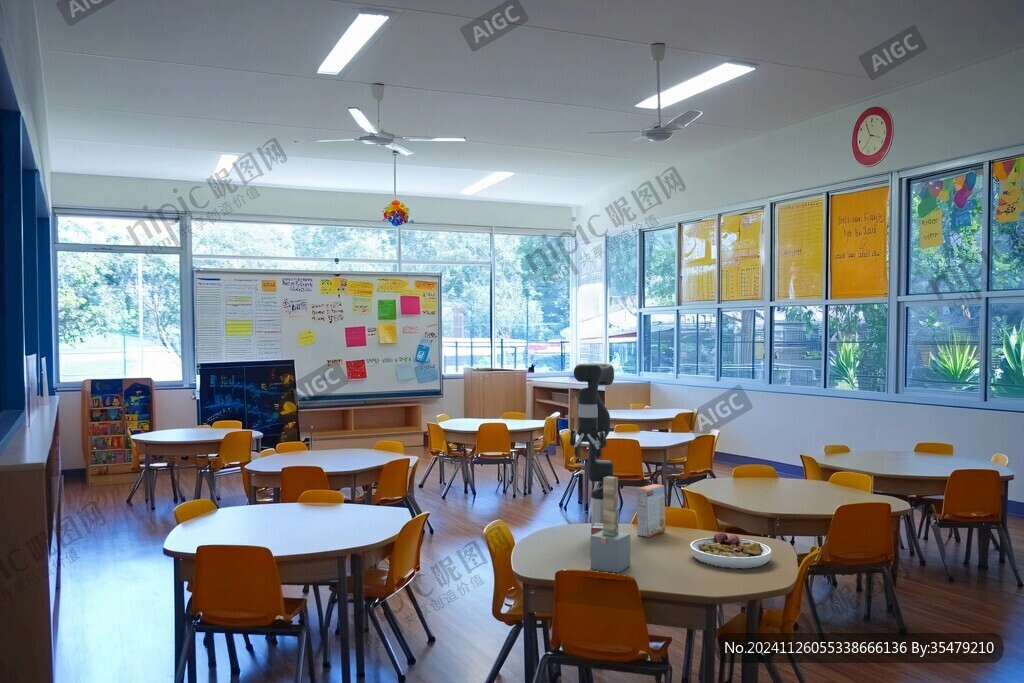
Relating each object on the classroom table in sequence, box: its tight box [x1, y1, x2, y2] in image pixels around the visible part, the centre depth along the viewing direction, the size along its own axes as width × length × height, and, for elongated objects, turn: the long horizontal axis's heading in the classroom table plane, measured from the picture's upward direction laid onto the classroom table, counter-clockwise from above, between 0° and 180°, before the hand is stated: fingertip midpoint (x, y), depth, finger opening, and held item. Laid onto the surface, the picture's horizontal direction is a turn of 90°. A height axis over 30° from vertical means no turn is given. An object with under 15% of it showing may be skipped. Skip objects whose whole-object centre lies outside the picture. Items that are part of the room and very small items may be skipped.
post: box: [602, 476, 619, 537], centre depth 278 cm, size 4×4×24 cm
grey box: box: [590, 530, 631, 574], centre depth 278 cm, size 12×11×12 cm
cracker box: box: [636, 483, 666, 538], centre depth 329 cm, size 14×6×21 cm, turn 136°
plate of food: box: [689, 531, 772, 569], centre depth 289 cm, size 30×30×8 cm
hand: (587, 457), depth 288 cm, fingers open, 8 cm apart
